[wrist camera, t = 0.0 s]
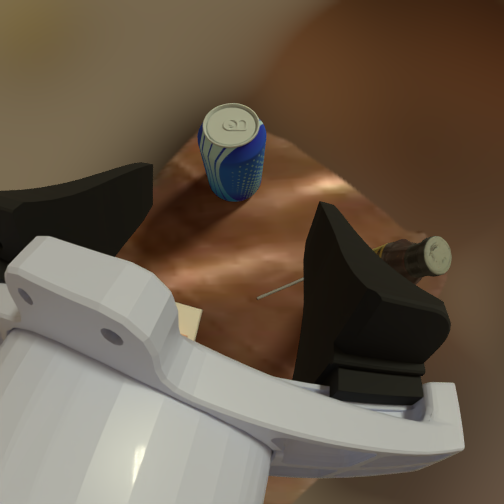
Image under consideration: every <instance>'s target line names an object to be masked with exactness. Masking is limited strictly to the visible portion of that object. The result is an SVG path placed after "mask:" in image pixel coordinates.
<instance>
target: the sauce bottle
mask: <svg viewBox="0 0 504 504" xmlns="http://www.w3.org/2000/svg"><path fill="white" fill-rule="evenodd" d="M373 251H374V252H375V253H376V254H377V255H378V256H379V257H380V258H381V259H382V260H383V261H385V262H386V263H387V264H388V265H389V266H391V267H392V268H393V269H394V270H396V271H397V272H398V273H399V274H401V275H402V276H403V277H405V278H406V279H407V280H409V281H410V282H412V283H413V284H415V285H416V284H417V283H418V282H419V281H420V280H421V279H422V277H424V276H439V275H442V274H444V273H445V272H447V270H448V269H449V267H450V264H451V252H450V248H449V246H448V244H447V242H446V241H444V240H443V239H442V238H441V237H438V236H433V237H429V238H426V239H424V240H423V241H422V242H421V243H418V244H417V243H412V242H410V241H408V240H406V239H401V240H398V241H395V242H391V243H388V244H385V245H382V246H380V247H378V248H375V249H373Z"/></svg>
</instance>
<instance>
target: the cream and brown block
mask: <svg viewBox="0 0 504 504" xmlns="http://www.w3.org/2000/svg"><path fill="white" fill-rule="evenodd" d="M175 303H176V306H177V309H178V319H179V330H180V334H181V335H183V336H185V337H187V338H189V339H191V340H193V341H195V338H196V334H197V330H198V326H199V322H200V318H201V314H202V310H201V309H197V308H194V307H190V306H187V305H183V304H180V303H177V302H175Z"/></svg>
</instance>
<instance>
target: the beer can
mask: <svg viewBox="0 0 504 504" xmlns="http://www.w3.org/2000/svg"><path fill="white" fill-rule="evenodd" d="M198 144H199V148H200V152H201V156H202V159H203V163H204V167H205V170H206V174H207V177H208V181H209V184H210V187H211V189H212V191H213V192H214V193H215V194H216V195H217V196H218V197H220V198H221V199H223V200H226V201H231V202H237V201H243V200H245V199H248V198H249V197H251V196H252V195H253V194H254V193H255V192H256V191H257V190H258V188H259V186H260V183H261V177H262V169H263V160H264V152H265V144H266V130H265V127H264V125H263V123H262V122H261V120H260V119H259V118H258V116H257V115H256V113H255V112H254V111H253V110H252V109H250V108H249V107H247V106H244V105H241V104H236V103H229V104H223V105H220V106H218V107H216V108H214V109H213V110H211V111H210V112H209V113H208V114H207V115H206V117H205V119H204V121H203V123H202V125H201V126H200V129H199V132H198Z"/></svg>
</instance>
